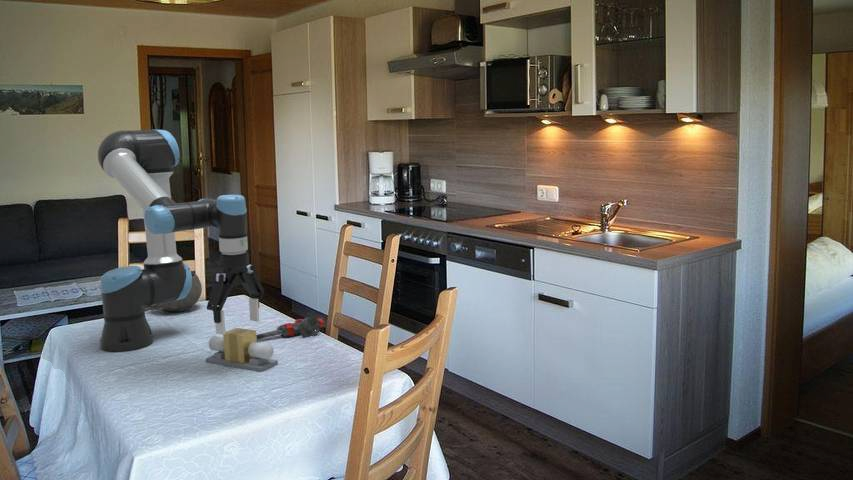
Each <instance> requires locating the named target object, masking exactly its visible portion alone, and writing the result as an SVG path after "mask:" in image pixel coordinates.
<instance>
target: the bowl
mask: <svg viewBox="0 0 853 480" xmlns="http://www.w3.org/2000/svg"><path fill="white" fill-rule="evenodd" d="M191 274H192V286H191V290H190V292H189V293H188V295H187V296H186V297H185V298H183V299H180V300H176V301H174V302H167V303H162V304H157V305H156V306H157V307H158V308H160V309H162V310H165V311H168V312H173V313H174V311H175V313H177V312H176V311H178V312H183V311H184V312H185V311H186V310H188V309H190V308H191V307H193V306H195V304H197V303H198V301H199V299H200V298H201V296H202V292H203V291H202V290H203V288H202V283H201V280H200V278H199V276H198V275H197V274H196V273H195V272H192V271H191Z"/></svg>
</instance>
